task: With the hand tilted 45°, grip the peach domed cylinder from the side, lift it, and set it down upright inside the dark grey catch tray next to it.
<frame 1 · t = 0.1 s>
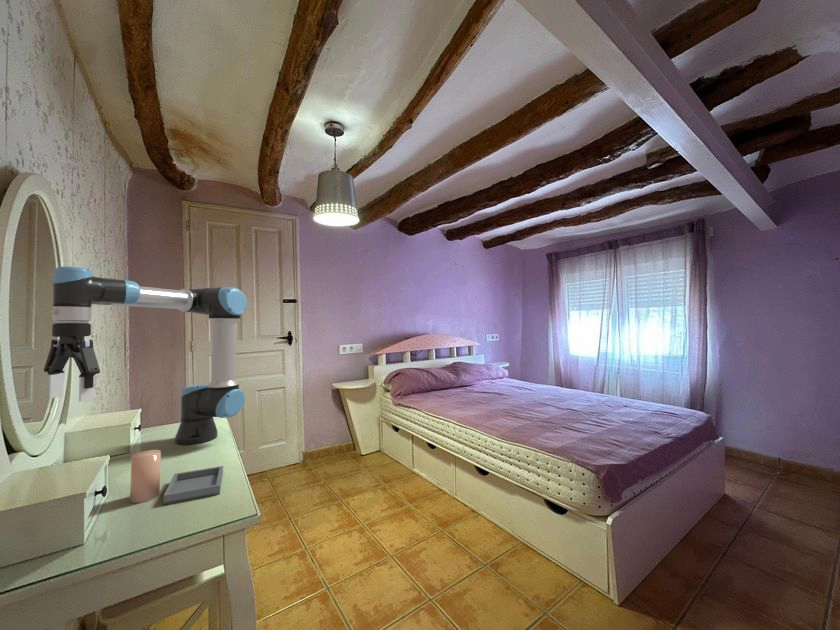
hand: (70, 398, 92), 28 cm above the table, tool pointing down, fingers open, 13 cm apart
peach domed cylinder: (144, 497, 93), on the table
catch tray: (196, 487, 99), on the table
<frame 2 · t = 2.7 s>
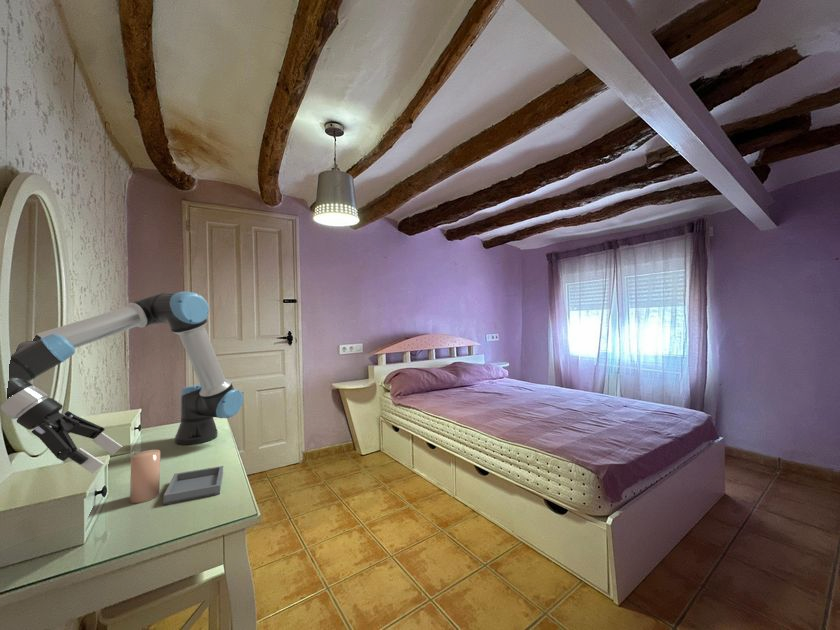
hand: (108, 458, 90), 12 cm above the table, tool tilted 45°, fingers open, 13 cm apart
nothing on the table moved.
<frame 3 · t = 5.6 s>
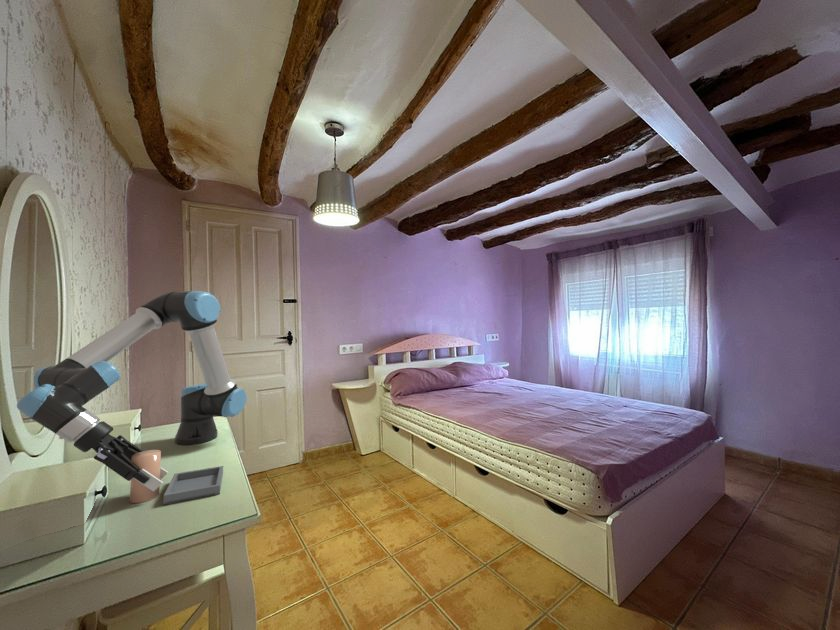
hand: (161, 481, 95), 4 cm above the table, tool tilted 45°, fingers closed on peach domed cylinder, 6 cm apart
peach domed cylinder: (144, 497, 93), on the table, touching gripper
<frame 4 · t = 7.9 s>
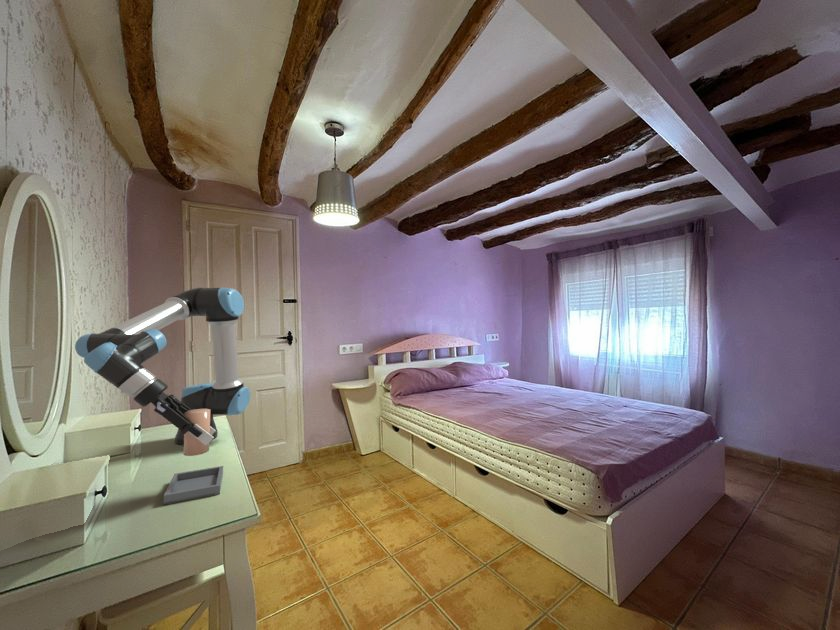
hand: (211, 437, 101), 14 cm above the table, tool tilted 45°, fingers closed on peach domed cylinder, 6 cm apart
peach domed cylinder: (196, 451, 99), point 11 cm above the table, touching gripper
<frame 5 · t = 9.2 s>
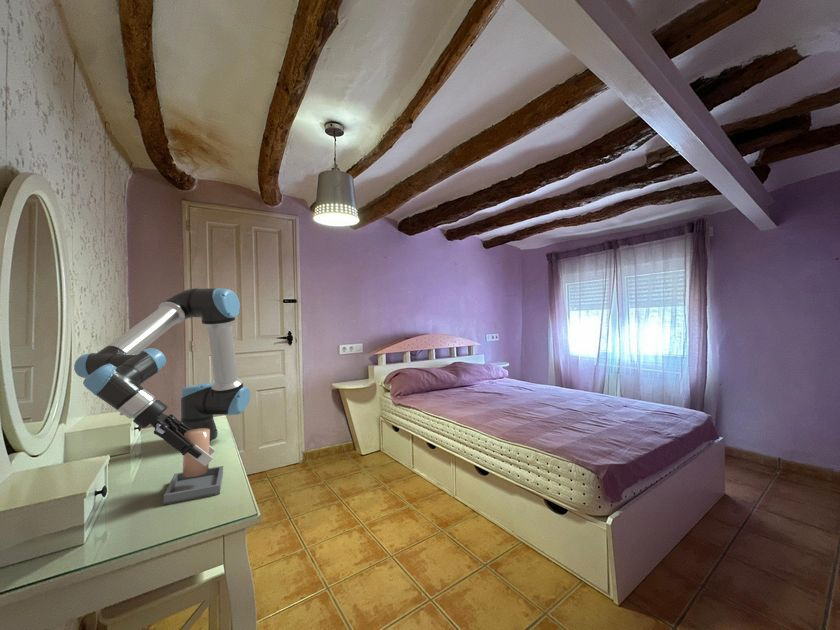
hand: (210, 457, 100), 8 cm above the table, tool tilted 45°, fingers closed on peach domed cylinder, 6 cm apart
peach domed cylinder: (195, 472, 99), point 5 cm above the table, touching gripper
when the fingers open (6 cm above the table, at t = 10.2 s): peach domed cylinder drops 1 cm, resting on catch tray.
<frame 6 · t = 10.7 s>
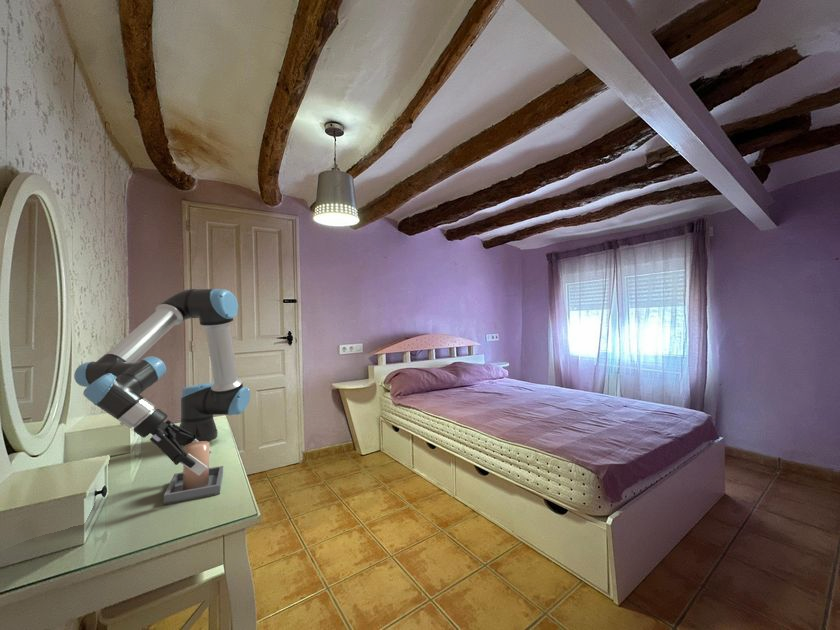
hand: (206, 462, 100), 7 cm above the table, tool tilted 45°, fingers open, 13 cm apart
peach domed cylinder: (196, 485, 99), point 1 cm above the table, touching catch tray
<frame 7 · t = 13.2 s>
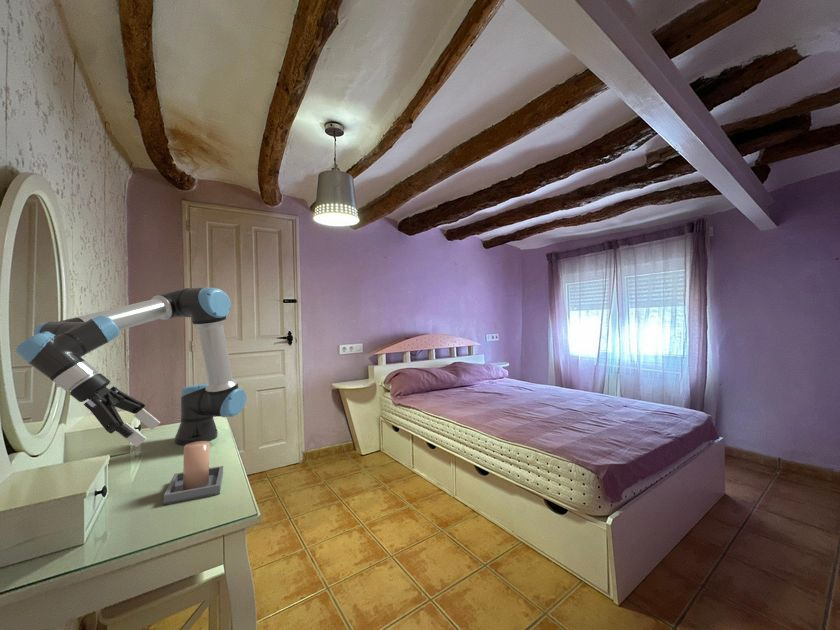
hand: (149, 434, 95), 17 cm above the table, tool tilted 40°, fingers open, 13 cm apart
nothing on the table moved.
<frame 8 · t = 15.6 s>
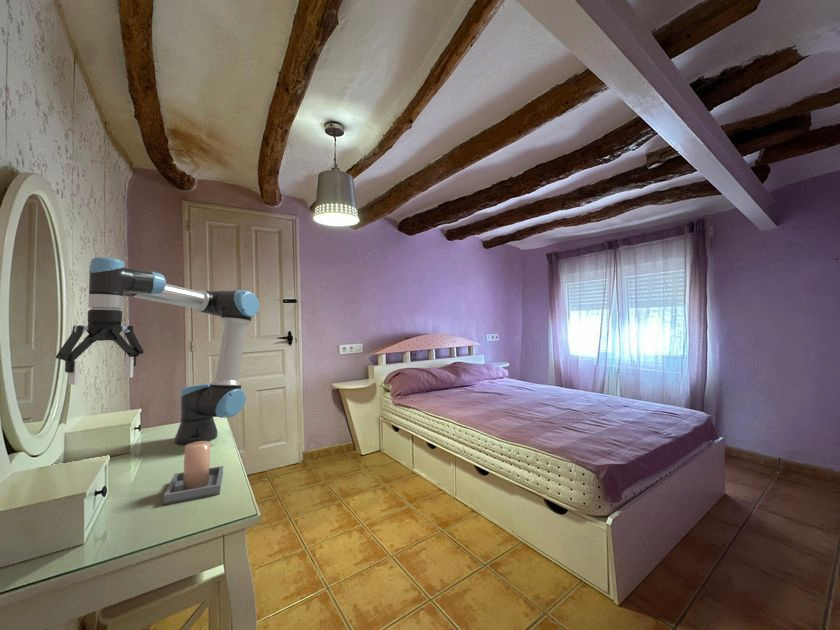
hand: (102, 380, 99), 32 cm above the table, tool pointing down, fingers open, 13 cm apart
nothing on the table moved.
at the end: peach domed cylinder inside the target area on the catch tray (0.1 cm from its centre), point 0.7 cm above the catch tray's base; peach domed cylinder tilted 1°; the gripper is holding nothing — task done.
